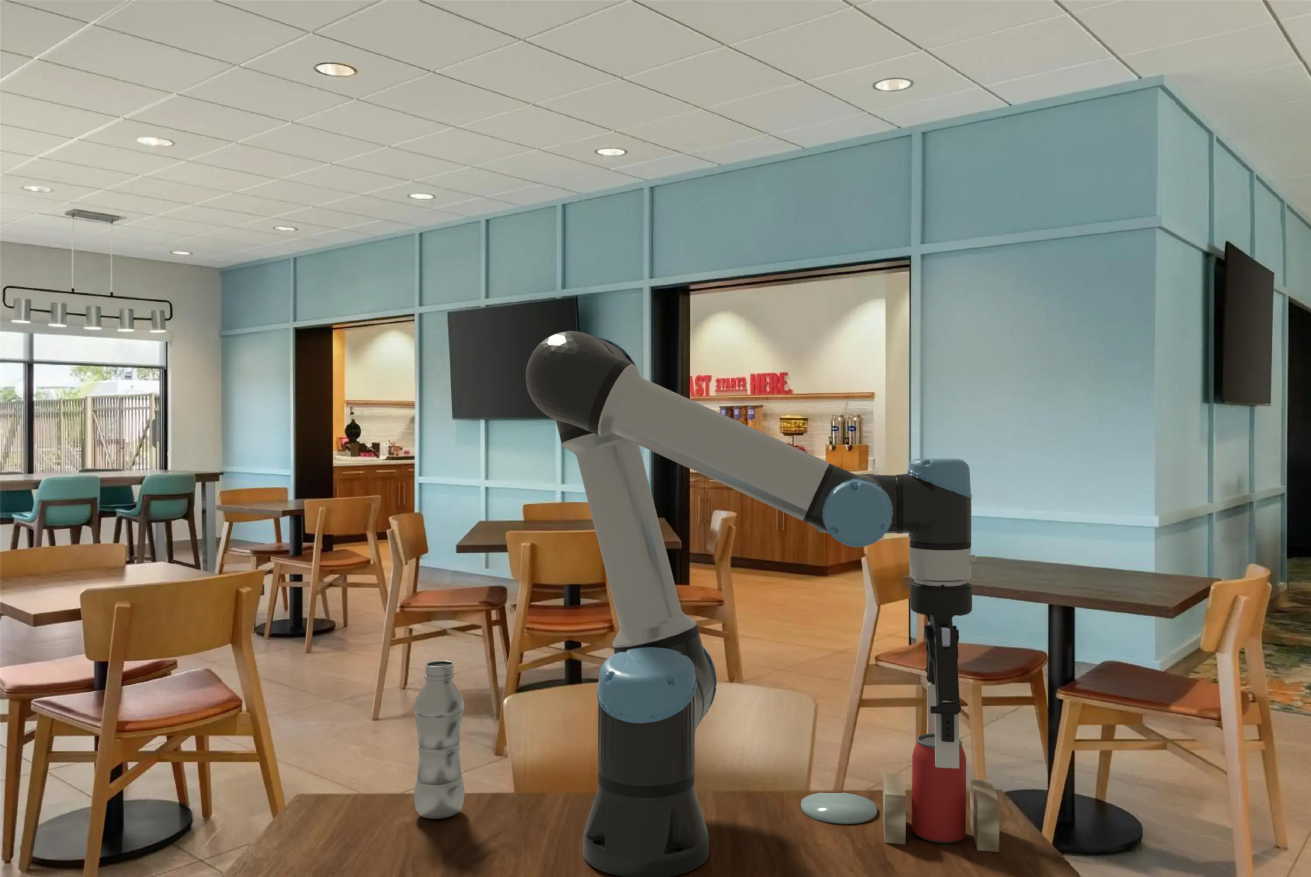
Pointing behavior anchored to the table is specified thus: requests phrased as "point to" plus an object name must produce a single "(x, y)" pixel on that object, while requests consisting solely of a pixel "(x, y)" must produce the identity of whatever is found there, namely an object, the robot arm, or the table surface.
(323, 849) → the table surface
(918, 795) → the beer can
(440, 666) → the plastic bottle
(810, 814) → the coaster
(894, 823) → the block
